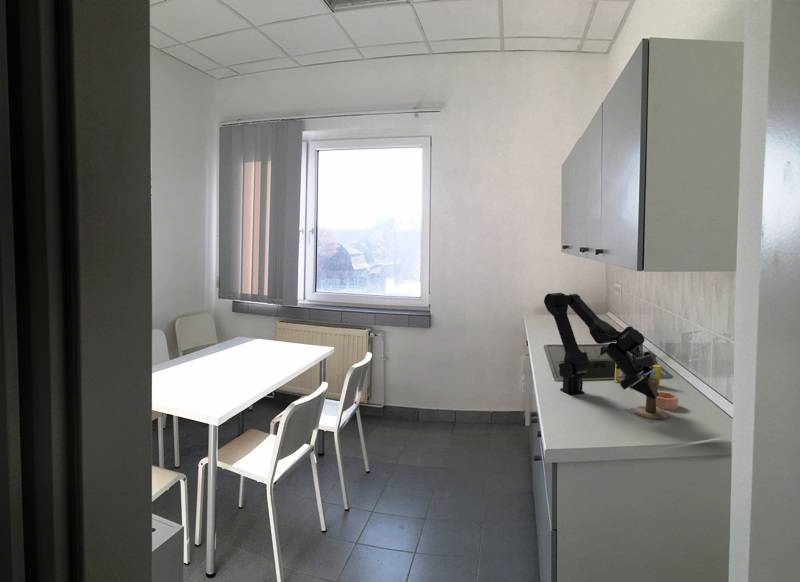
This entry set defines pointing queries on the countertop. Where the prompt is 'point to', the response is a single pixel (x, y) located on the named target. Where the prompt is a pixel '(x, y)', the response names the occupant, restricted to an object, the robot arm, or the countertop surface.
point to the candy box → (655, 373)
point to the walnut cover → (651, 404)
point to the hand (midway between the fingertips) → (656, 397)
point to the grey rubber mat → (670, 417)
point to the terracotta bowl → (666, 400)
